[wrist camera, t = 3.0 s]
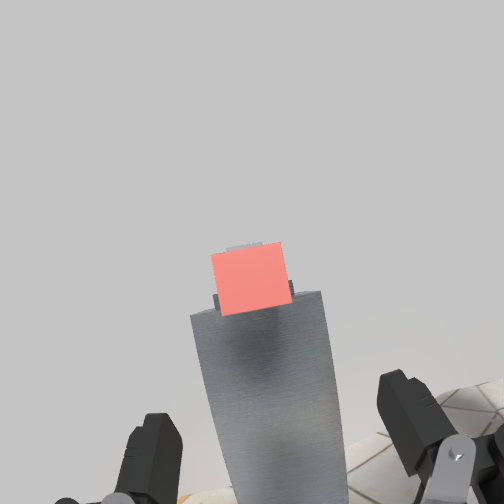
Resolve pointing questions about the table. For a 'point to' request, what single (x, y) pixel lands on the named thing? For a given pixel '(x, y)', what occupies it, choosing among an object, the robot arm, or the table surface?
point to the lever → (251, 278)
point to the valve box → (275, 401)
